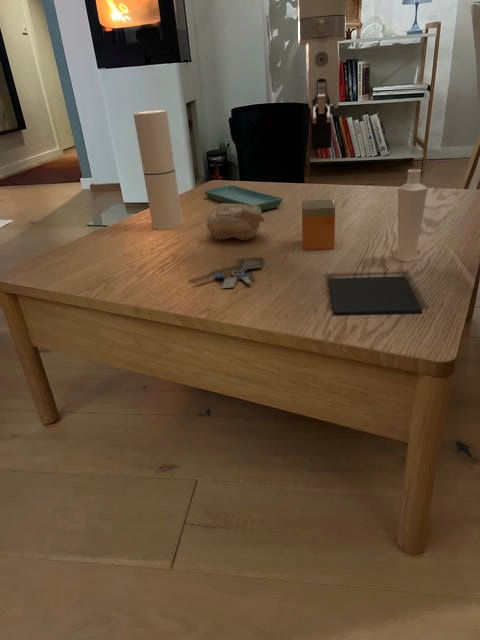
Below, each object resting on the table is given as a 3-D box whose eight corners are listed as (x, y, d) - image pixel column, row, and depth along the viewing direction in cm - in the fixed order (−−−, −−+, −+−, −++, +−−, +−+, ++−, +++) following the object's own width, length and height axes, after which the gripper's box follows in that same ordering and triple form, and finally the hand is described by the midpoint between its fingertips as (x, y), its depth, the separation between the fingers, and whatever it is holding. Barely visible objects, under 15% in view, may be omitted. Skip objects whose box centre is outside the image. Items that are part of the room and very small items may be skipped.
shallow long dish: (203, 197, 135) (202, 189, 134) (231, 191, 139) (230, 183, 138) (253, 215, 115) (253, 205, 114) (284, 208, 119) (283, 198, 118)
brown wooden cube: (333, 199, 92) (302, 200, 93) (335, 207, 87) (302, 209, 87) (332, 239, 96) (302, 240, 96) (334, 249, 90) (302, 250, 91)
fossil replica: (208, 234, 105) (210, 252, 97) (201, 198, 101) (202, 214, 92) (262, 224, 105) (268, 242, 97) (257, 188, 101) (263, 203, 92)
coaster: (404, 278, 76) (405, 275, 76) (422, 313, 65) (422, 310, 65) (328, 281, 77) (328, 278, 77) (333, 315, 67) (333, 311, 67)
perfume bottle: (415, 264, 81) (424, 174, 74) (390, 260, 83) (396, 172, 76) (424, 255, 84) (434, 168, 77) (400, 251, 86) (407, 166, 79)
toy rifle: (251, 261, 88) (251, 257, 87) (284, 271, 82) (284, 266, 82) (192, 286, 80) (191, 281, 79) (224, 298, 74) (224, 294, 74)
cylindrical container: (148, 230, 111) (128, 114, 100) (158, 221, 117) (140, 111, 106) (177, 229, 110) (160, 112, 98) (186, 220, 116) (171, 109, 104)
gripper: (348, 26, 68) (344, 150, 76) (343, 32, 83) (340, 136, 91) (295, 31, 70) (298, 153, 78) (300, 37, 85) (301, 138, 93)
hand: (321, 144), depth 85 cm, fingers open, 9 cm apart
